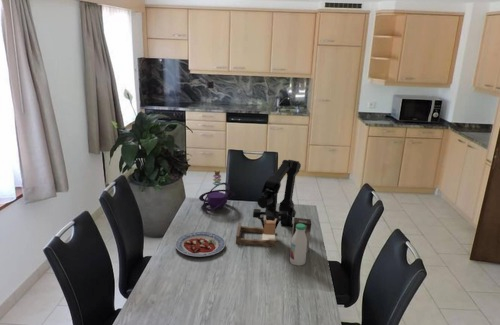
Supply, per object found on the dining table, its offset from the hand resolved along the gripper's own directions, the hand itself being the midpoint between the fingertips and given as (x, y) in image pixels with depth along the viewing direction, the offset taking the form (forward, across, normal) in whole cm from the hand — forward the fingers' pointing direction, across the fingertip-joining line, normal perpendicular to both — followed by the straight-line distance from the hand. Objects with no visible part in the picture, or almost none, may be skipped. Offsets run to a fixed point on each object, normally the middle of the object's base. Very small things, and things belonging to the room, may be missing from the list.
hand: (269, 228), depth 209 cm
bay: (+6, -6, 0) cm, 9 cm away
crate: (+2, 0, 0) cm, 2 cm away
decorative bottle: (+6, -34, +38) cm, 52 cm away
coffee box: (+6, +16, -8) cm, 19 cm away
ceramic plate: (+6, -36, -14) cm, 39 cm away
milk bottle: (+6, +14, -22) cm, 27 cm away
